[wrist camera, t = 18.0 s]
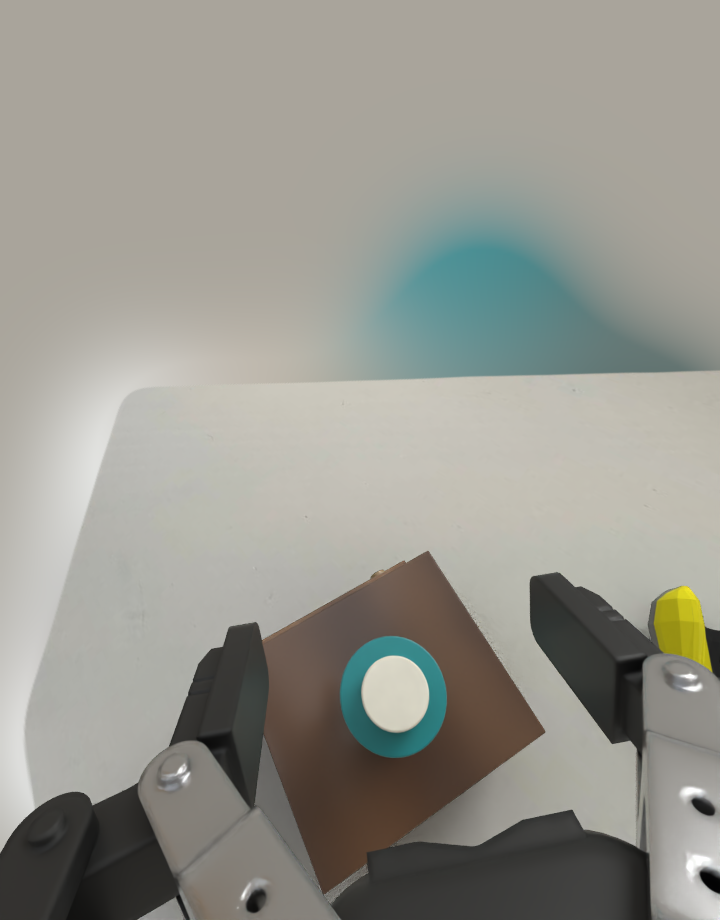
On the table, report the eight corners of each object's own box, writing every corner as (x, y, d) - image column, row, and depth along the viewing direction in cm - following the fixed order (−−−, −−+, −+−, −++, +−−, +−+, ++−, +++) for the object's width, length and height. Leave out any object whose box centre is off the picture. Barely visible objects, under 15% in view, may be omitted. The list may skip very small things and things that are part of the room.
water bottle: (371, 757, 24) (373, 790, 15) (334, 679, 26) (318, 667, 17) (437, 713, 25) (476, 719, 16) (397, 640, 27) (413, 610, 18)
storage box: (335, 843, 29) (323, 895, 21) (259, 653, 35) (228, 639, 27) (502, 724, 32) (546, 732, 24) (407, 569, 38) (418, 534, 30)
